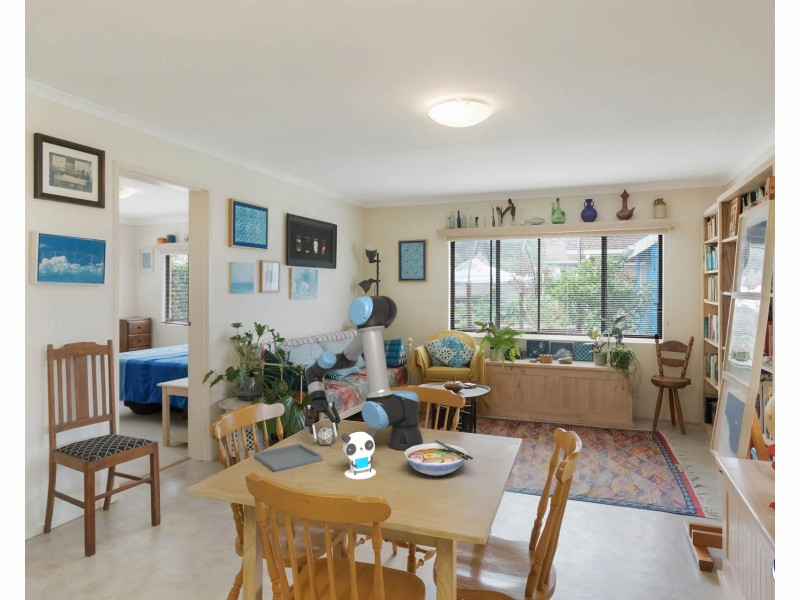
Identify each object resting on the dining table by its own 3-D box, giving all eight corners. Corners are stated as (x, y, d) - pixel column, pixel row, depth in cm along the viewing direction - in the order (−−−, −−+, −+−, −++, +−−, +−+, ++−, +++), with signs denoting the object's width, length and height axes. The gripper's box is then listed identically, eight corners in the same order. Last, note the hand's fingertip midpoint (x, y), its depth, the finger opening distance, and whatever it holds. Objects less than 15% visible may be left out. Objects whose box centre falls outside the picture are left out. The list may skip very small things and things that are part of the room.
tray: (322, 460, 198) (322, 455, 198) (274, 472, 186) (273, 466, 186) (300, 448, 214) (300, 443, 214) (254, 458, 202) (254, 453, 202)
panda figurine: (349, 481, 176) (348, 439, 176) (338, 471, 186) (337, 431, 186) (380, 475, 181) (379, 434, 181) (368, 466, 191) (368, 426, 191)
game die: (329, 452, 219) (342, 432, 222) (325, 451, 211) (338, 430, 214) (313, 441, 222) (326, 421, 224) (308, 439, 214) (321, 419, 216)
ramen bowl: (393, 466, 190) (393, 445, 190) (447, 457, 199) (446, 437, 199) (422, 490, 167) (422, 466, 167) (481, 479, 176) (481, 456, 176)
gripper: (338, 396, 235) (348, 440, 221) (293, 400, 228) (299, 446, 213) (341, 387, 230) (351, 431, 216) (294, 391, 223) (301, 437, 208)
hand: (325, 438), depth 214 cm, fingers closed on game die, 8 cm apart
